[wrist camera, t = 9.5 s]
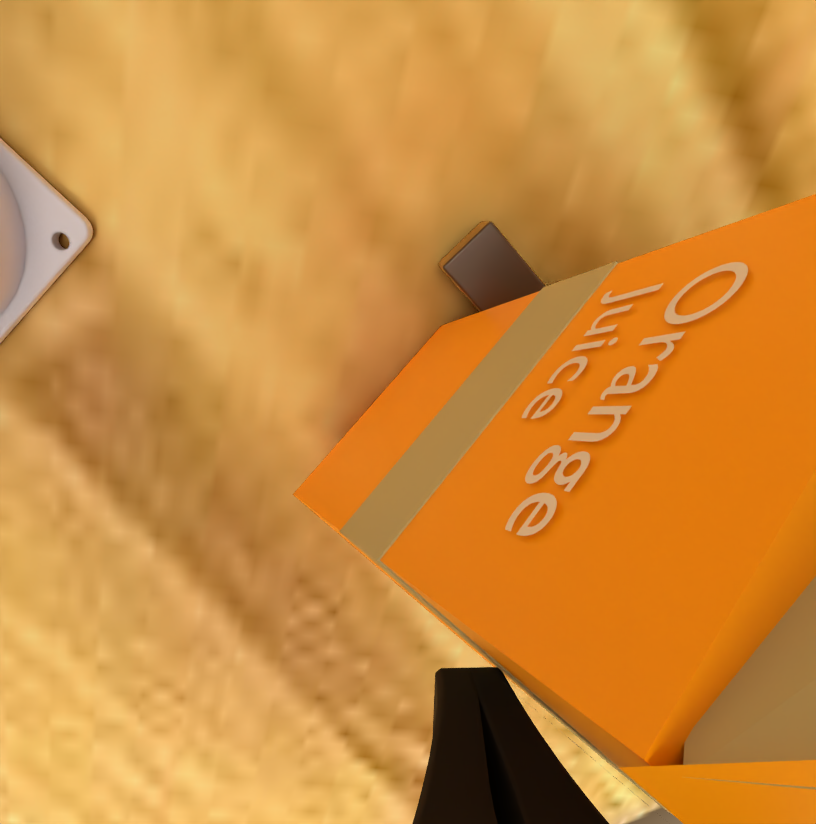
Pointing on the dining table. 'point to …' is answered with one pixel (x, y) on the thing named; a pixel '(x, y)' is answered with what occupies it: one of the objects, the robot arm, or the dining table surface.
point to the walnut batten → (489, 268)
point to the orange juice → (623, 509)
